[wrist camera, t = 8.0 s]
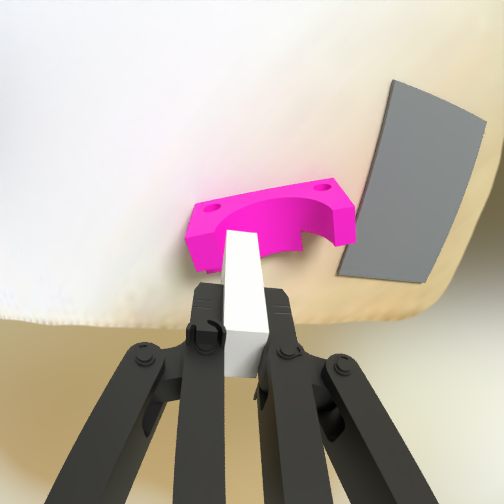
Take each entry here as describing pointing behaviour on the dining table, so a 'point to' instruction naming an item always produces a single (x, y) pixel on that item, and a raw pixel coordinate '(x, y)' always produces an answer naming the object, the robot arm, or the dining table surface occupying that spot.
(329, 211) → the magenta bearing cap
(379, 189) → the pad
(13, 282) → the dining table surface
